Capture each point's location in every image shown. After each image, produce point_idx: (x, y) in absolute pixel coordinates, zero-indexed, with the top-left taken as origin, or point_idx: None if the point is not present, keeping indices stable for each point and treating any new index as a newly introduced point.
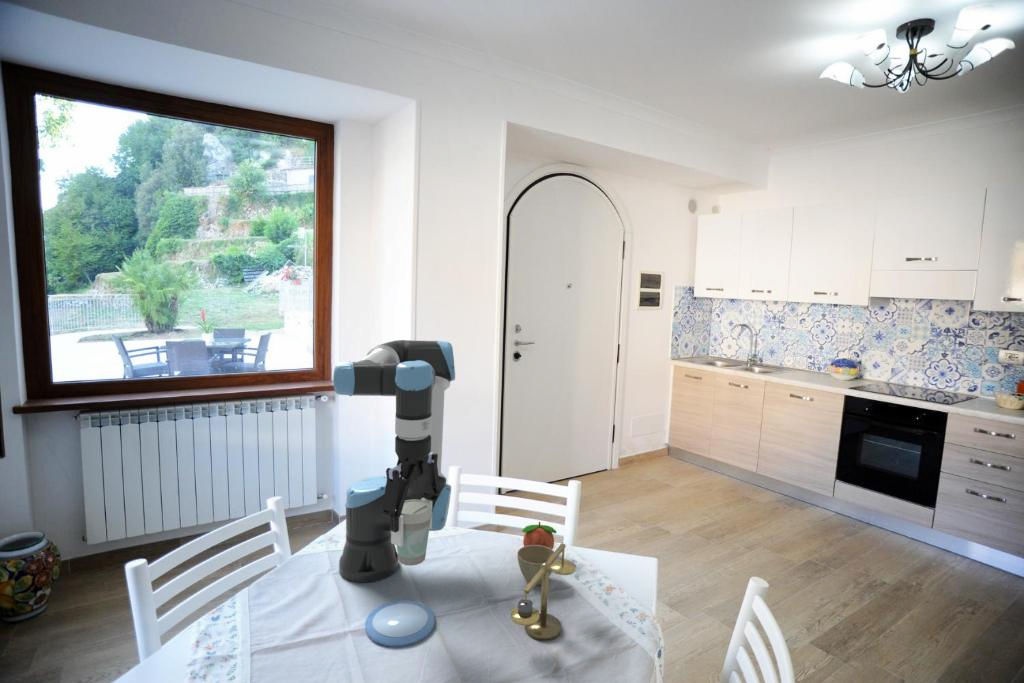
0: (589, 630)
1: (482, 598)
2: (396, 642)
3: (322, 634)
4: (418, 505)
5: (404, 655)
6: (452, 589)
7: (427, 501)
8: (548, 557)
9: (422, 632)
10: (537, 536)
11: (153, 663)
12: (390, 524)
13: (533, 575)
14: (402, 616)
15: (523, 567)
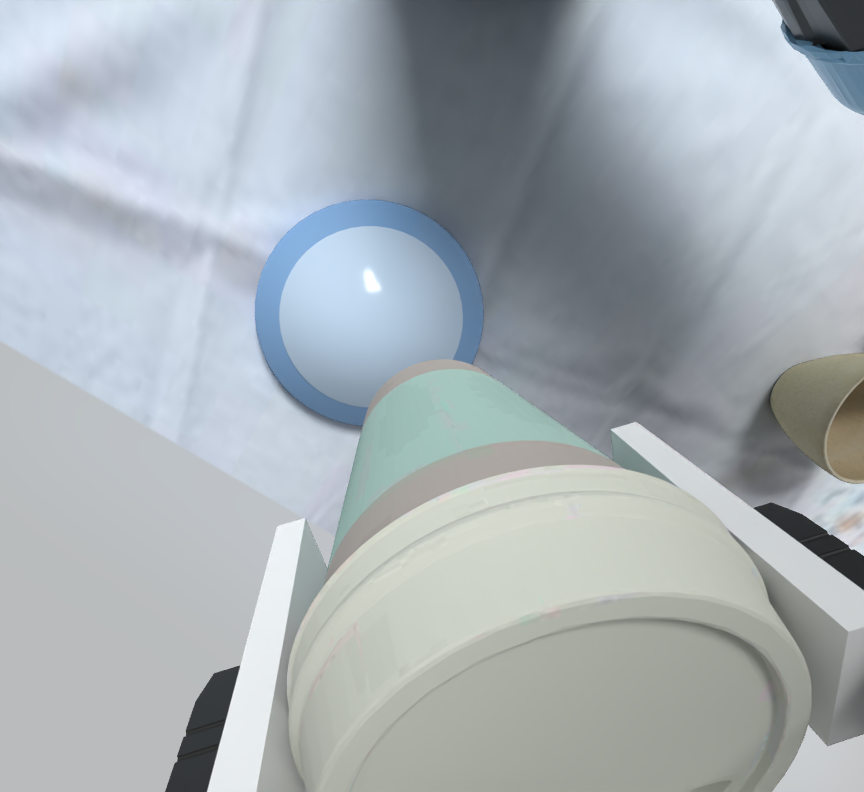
0: None
1: (635, 367)
2: (309, 407)
3: (117, 189)
4: (666, 758)
5: (311, 444)
6: (613, 265)
7: (828, 711)
8: None
9: None
10: None
11: None
12: (180, 769)
13: (791, 436)
14: (387, 314)
15: (804, 417)
